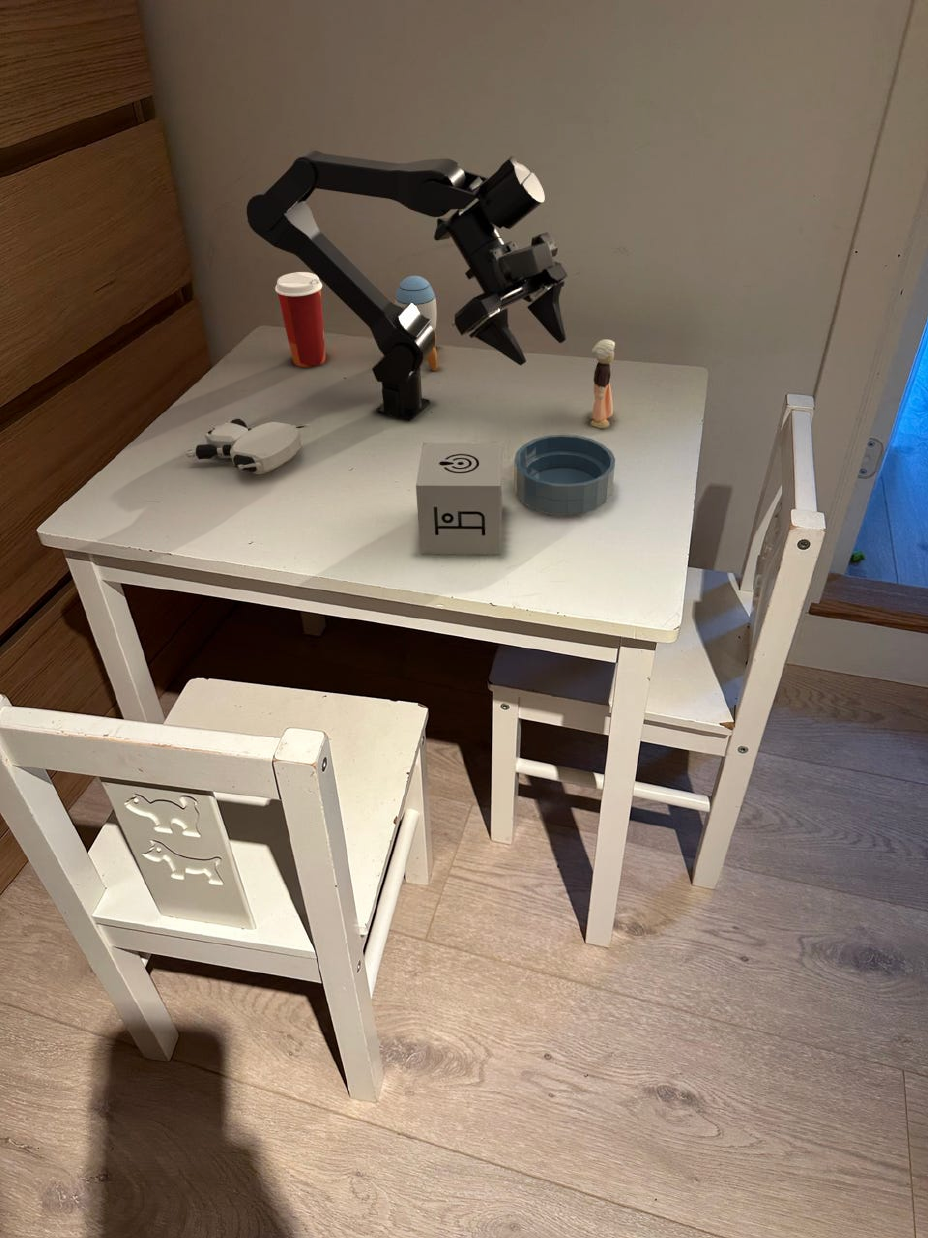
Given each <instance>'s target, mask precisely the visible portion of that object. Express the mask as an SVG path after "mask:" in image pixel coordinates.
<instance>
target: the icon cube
mask: <svg viewBox="0 0 928 1238" xmlns="http://www.w3.org/2000/svg"><path fill="white" fill-rule="evenodd" d="M415 482H416V483H415V492H416V495H415V496H416V506H417V507H416V508H417V521H418V522H417V523H418V537H419V550H420V555H477V556H478V555H479V556H481V555H491V556H495V555H496V556H500V555H501V554H502V523H503V520H502V519H503V442H422V446H421V452H420V458H419V465H418V470H417V476H416V481H415Z"/></svg>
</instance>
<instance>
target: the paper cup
mask: <svg viewBox="0 0 928 1238" xmlns="http://www.w3.org/2000/svg"><path fill="white" fill-rule="evenodd" d="M322 288H323V284H322V282H321V280H320V278H319V277H318V276H317V275H316V274H315V273H314V272H309V271H296V272H290V273H286V274H283V275H282V276H280V277H278V278H277V281H276V285H275V287H274V290H275V292H276V293H277V295H278V299H279V305H280V310H281V314H282V318H283V323H284V328H285V332H286V336H287V340H288V345H289V350H290V354H291V358H292V362H293V364H294V365H295V366H297V367H300V368H313V367H318V366H320V365H322V364H323V363H325V361H326V344H325V330H324V316H323V302H322Z"/></svg>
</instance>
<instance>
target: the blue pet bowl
mask: <svg viewBox="0 0 928 1238" xmlns="http://www.w3.org/2000/svg"><path fill="white" fill-rule="evenodd" d="M513 461H514V462H513V490H514V493H515V496H516V498H517V499H519V500H520V502H522V503H523V504H524V505H526V506H527V507H529V508H531V509H533V510H535V511H539V512H542V513H545V514H550V515H559V516H572V515H582V514H585V513H589V512H592V511H595V510H597V509H599V508H600V507H602V506H603V505H605V504H606V503H608V501H609V500H610V499H611V497H612V495H613V487H614V486H613V485H614V476H615V467H616V457H615V456H614V454H613V452H612V450H611V449H609V447H607V446H606V445H604V444H603V443H601V442H599V441H597V440H594V439H593V438H589V437H585V436H581V435H576V434H551V435H545V436H541V437H537V438H533V439H531V440H530V441H528V442H525V443H524V444H522V445H521V447H520V448H518V450H517V451H516V452H515V456H514V459H513Z"/></svg>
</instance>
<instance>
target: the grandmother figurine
mask: <svg viewBox="0 0 928 1238" xmlns="http://www.w3.org/2000/svg"><path fill="white" fill-rule="evenodd" d="M615 346H616V343H615V342H614V341H613V340H612V339H600V340H599V341H598V342H597V343H596V344H595V345H594V347H593V348H592V349H591V354H592V355H594V354H595V357H596V360H597V363H596V366H595V369H594V373H593V396H594V403H593V407H592V412H591V413H590V415H589V419H590V420H591V421H590V426H592V427H595V428H599V429H607V428H609V426H610V422H609V421H608V420H607V419H608V418H612V416H613V414H614V413H613V395H612V389H611V383H610V380H611V365H610V364H611V363H612V362H613V360H614V359H615V352H614V349H615Z"/></svg>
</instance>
